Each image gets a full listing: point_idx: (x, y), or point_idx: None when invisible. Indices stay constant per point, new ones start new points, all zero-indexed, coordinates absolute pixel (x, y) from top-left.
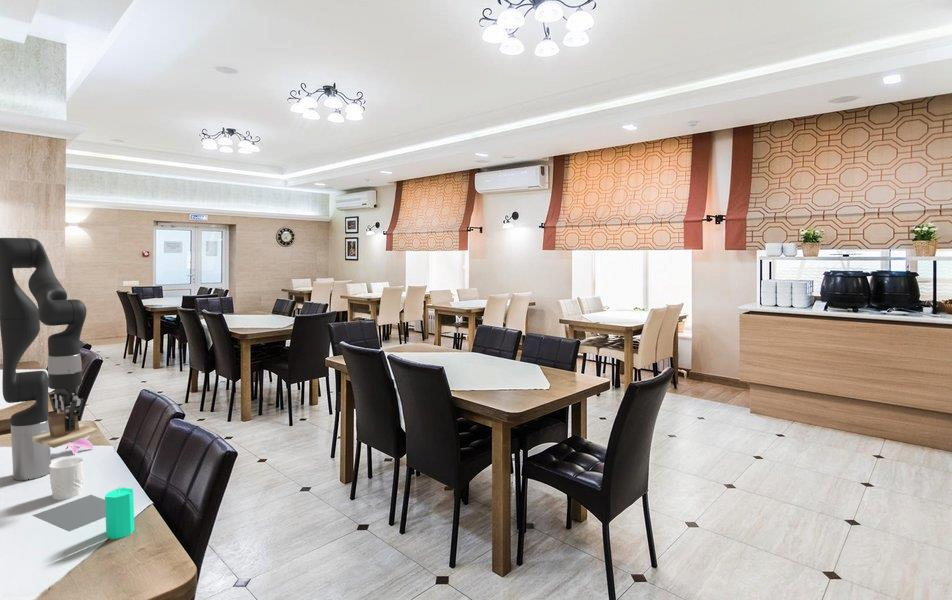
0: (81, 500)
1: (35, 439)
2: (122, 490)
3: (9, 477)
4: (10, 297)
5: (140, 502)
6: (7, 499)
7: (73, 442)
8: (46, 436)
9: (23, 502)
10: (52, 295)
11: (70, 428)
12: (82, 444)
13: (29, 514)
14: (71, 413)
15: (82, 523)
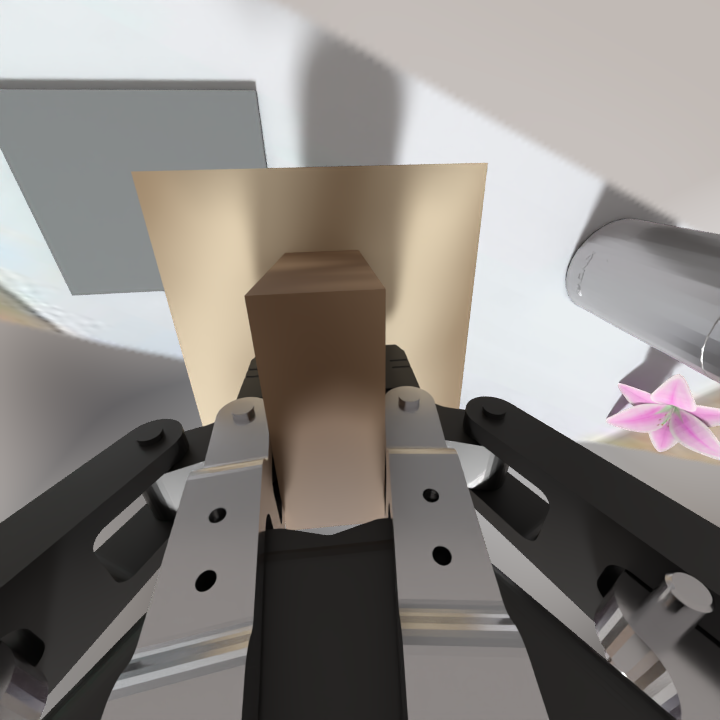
0: None
1: (430, 165)
2: None
3: (663, 220)
4: None
5: (114, 335)
6: (499, 124)
7: (666, 408)
8: (389, 233)
9: (422, 142)
10: None
11: (254, 365)
12: (637, 415)
13: (292, 98)
14: (73, 476)
15: (25, 154)
